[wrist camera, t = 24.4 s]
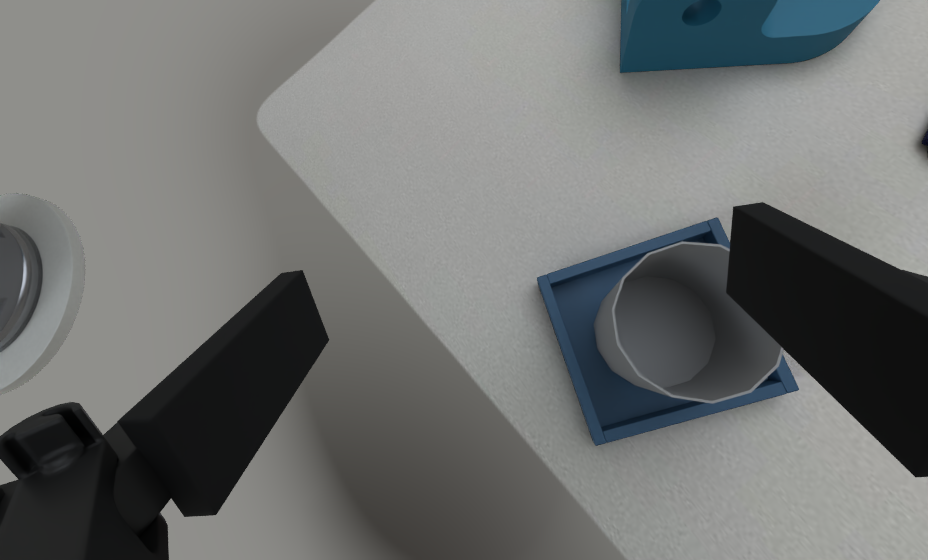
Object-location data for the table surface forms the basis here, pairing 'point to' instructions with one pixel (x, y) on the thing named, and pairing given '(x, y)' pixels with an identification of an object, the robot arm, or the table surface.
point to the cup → (683, 328)
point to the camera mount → (732, 31)
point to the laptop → (925, 139)
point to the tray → (597, 387)
